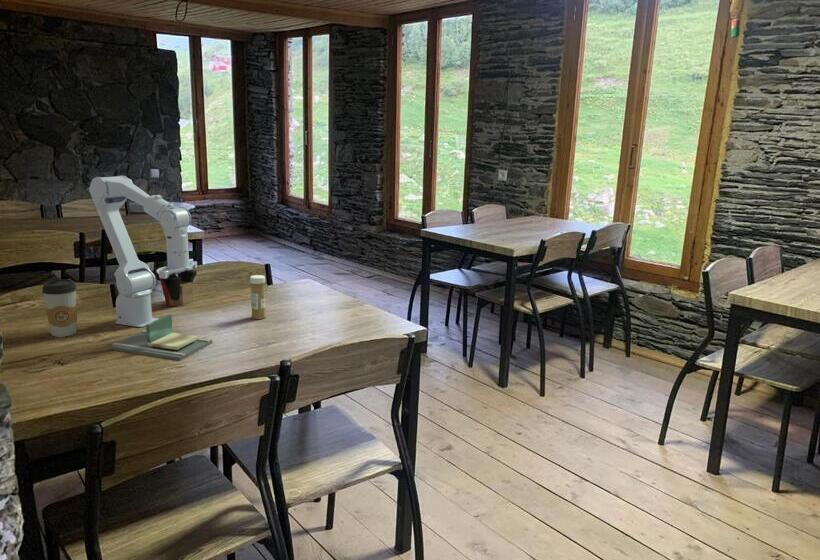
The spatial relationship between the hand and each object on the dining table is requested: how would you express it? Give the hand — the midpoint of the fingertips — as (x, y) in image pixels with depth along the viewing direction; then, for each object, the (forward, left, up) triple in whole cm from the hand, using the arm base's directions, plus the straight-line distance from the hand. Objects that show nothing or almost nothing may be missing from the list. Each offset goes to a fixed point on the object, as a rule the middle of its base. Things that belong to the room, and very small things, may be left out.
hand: (180, 297), depth 174 cm
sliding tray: (+6, -12, -11) cm, 17 cm away
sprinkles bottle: (+13, +20, -11) cm, 26 cm away
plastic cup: (-19, +22, -11) cm, 31 cm away
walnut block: (0, 0, -2) cm, 2 cm away
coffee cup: (-29, -14, -11) cm, 34 cm away
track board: (+2, -12, -11) cm, 16 cm away
